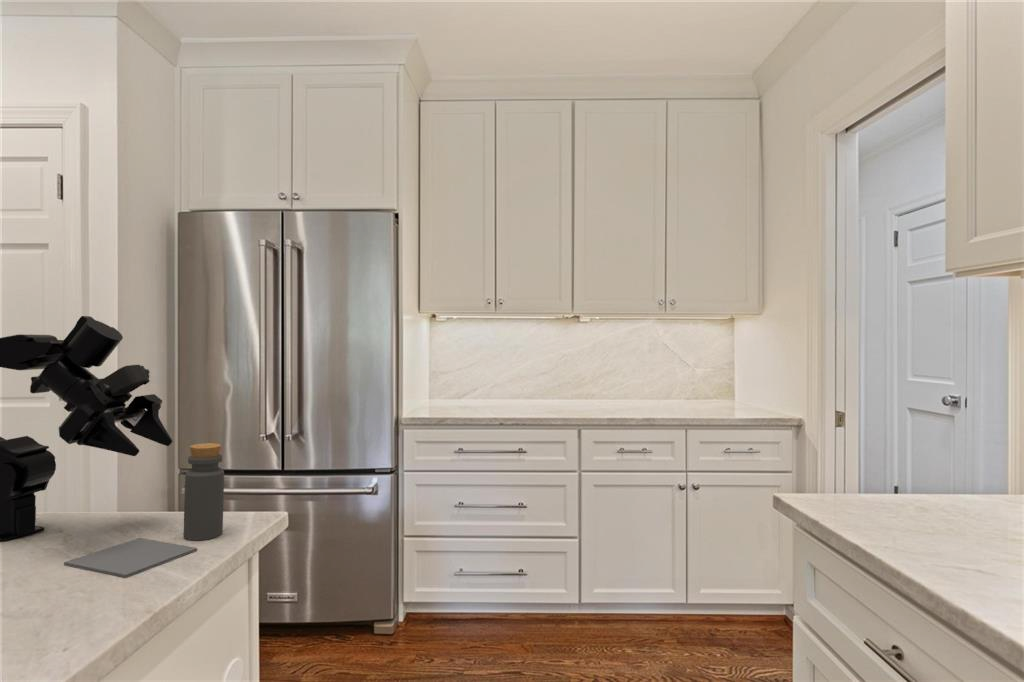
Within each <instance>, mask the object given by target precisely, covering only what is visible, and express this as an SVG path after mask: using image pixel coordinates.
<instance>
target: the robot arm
mask: <svg viewBox="0 0 1024 682" xmlns="http://www.w3.org/2000/svg"><path fill="white" fill-rule="evenodd" d="M123 338H124V337H123V335H122V334H121V332H119V330H117V329H116V328H115V327H114V326H110V325H108V324H106V323H104V322H102V321H99V320H96V319H94V318H93V317H92V316H90V315H89V316H87V315H82V316H80V317H79V318H78V320H77V321H76V323H75V325H74V327H73V328H72V329H71V331H70V332H69V333H68V334H67V336H66V337H65V338H64V339H58V338H57V336H54V335H52V334H51V335H50V334H23V333H22V334H21V333H19V334H14V335H8V336H4V337H0V368H2V369H10V370H15V371H29V370H31V371H32V370H42V371H41V372H40V373H39V375H38V376H32V377H30V380H31V382H30V383H31V384H30V386H29V387H30V388H29V389H30V391H29V392H30V394H40V393H42V394H43V393H49V392H50V391H51V392H52V393H54V394H55V395H56V396H57V398H60V399H61V400H62V401H63V402H64V403H66V404H65V406H64V407H63V409H64V410H66V411H67V412H68V413H69V412H70V413H69V414H68V416H66V418H65V419H64V420H63V422H62V423H61V424H60V426H59V427H58V436H59V438H61V439H62V440H63V441H65V442H66V444H68V445H72V444H75V443H76V445H78V446H86V447H92V448H97V449H101V450H106V451H111V452H114V453H118V454H123V455H126V456H131V457H137V455H138V454H139V453H140V449H139V448H138V446H137V445H136V444H134V442H133V441H132V440H131V439H130V438H129V437H128V436H127V435H126V434H125V433H124V432H123V431H121V429H120V428H119V427H117V425H116V424H117V423H120V425H122V426H123V427H124V428H126V429H129V430H130V431H129V432H130V433H132V434H135V435H137V436H139V437H142V438H145V439H147V440H150V441H151V442H152V441H153V442H155V443H158V444H160V445H163V446H166V447H170V446H171V444H172V443H173V439H172V438H171V436H170V434H169V433H168V431H167V429H166V428H165V426H164V425H163V422H162V421H161V419H160V416H159V411H160V409H161V407H162V404H163V399H161V398H160V397H159V396H157V395H156V394H154V393H152V394H151V393H150V394H145V395H144V394H143V395H137V396H135V397H133V395H132V394H131V392H133V391H135V390H136V389H138V388H140V387H141V386H143V385H147V384H149V383H150V373H151V372H150V370H149V369H146V368H145V366H144V365H141V364H131V365H125V366H123V367H119V368H118V369H117V370H115V371H114V372H112V373H111V374H108V375H107V376H105V377H104V378H99V377H97V376H96V375H95V374H94V373H92V372H91V371H89V369H90V368H92V367H100V366H102V365H103V364H104V363H105V361H106V360H107V359H108V358H109V357H110V355H111V354H112V353H113V351H114V350H115V349H116V348H117V347H118V346H119V344H120V342H121V341H123ZM132 397H133V399H132ZM130 399H132V401H130V403H129V404H128V405H126V402H129V400H130ZM49 447H50V446H48V445H43V444H41V443H39V442H38V441H36V440H35V438H33V437H31V436H28V435H23V436H19V437H15V438H9V439H5V438H4V437H2V436H0V542H4V541H9V540H12V539H15V538H19V537H23V536H26V535H31V534H34V533H38V532H41V531H42V532H43V531H44V530H45V526H41V525H36V521H37V519H36V517H37V516H36V515H37V514H36V513H37V505H36V500H37V499H36V497H37V496H36V495H35V493H37V492H43V491H46V490H47V487H48V484H49V483H50V480H51V479H52V477H53V476H54V475H55V471H56V469H57V463H56V456H55V455H54V453H52V452H51V451H50V450H48V449H49Z"/></svg>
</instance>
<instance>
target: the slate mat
mask: <svg viewBox="0 0 1024 682" xmlns="http://www.w3.org/2000/svg"><path fill="white" fill-rule="evenodd" d="M197 551H198V547H196V546H195V547H194V546H189V545H183V544H177V543H172V542H166V541H161V540H154V539H149V538H143V537H138V538H135V539H131V540H128V541H125V542H123V543H119V544H117V545H113V546H110V547H107V548H104V549H101V550H98V551H94V552H91V553H89V554H84V555H82V556H79V557H76V558H73V559H70V560H69V559H68V560H66V561H64V562H63V565H64V566H68V567H72V568H77V569H83V570H87V571H92V572H97V573H101V574H105V575H109V576H110V575H111V576H116V577H118V578H120V577H121V578H124V579H125V578H126V579H127V578H129V577H132V576H135V575H137V574H139V573H142V572H144V571H145V572H146V571H147V570H150V569H152V568H155V567H157V566H161V565H162V564H166V563H168V562H171V561H173V560H176V559H178V558H181V557H184V556H186V555H189V554H191V553H194V552H195V553H196V552H197Z"/></svg>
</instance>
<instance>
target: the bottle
mask: <svg viewBox="0 0 1024 682" xmlns="http://www.w3.org/2000/svg"><path fill="white" fill-rule="evenodd" d="M221 449H222V445H221V444H220V443H210V442H207V443H206V442H205V443H196V444H192V445H189V450H190V454H191V455H190V456H188V457H187V463H188V465H191V469H189V470H188V471H186V473H185V477H184V499H183V500H184V503H183V505H184V506H183V507H184V509H183V538H184V540H188V541H206V540H207V541H208V540H211V539H215V538H218V537H221V536H222V534H223V529H224V525H223V524H224V498H225V497H224V496H225V495H224V494H225V470H224V469H222V468H221V467H220V466H219V463H222V462H223V455H222V454H220V452H221Z"/></svg>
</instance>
